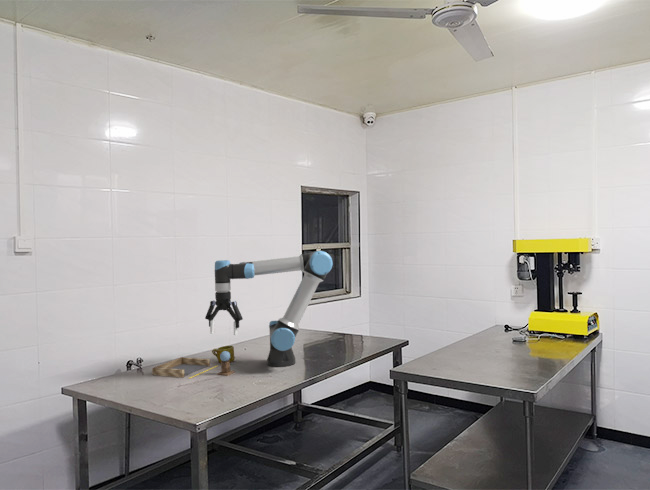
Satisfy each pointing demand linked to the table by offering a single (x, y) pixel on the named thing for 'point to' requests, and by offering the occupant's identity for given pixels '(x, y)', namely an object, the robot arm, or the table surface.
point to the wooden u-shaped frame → (165, 368)
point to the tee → (225, 368)
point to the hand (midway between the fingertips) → (224, 334)
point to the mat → (189, 368)
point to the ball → (225, 356)
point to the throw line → (203, 372)
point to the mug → (224, 348)
